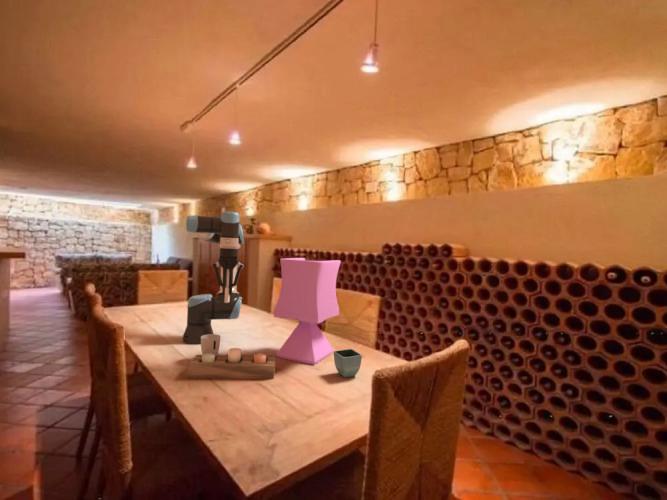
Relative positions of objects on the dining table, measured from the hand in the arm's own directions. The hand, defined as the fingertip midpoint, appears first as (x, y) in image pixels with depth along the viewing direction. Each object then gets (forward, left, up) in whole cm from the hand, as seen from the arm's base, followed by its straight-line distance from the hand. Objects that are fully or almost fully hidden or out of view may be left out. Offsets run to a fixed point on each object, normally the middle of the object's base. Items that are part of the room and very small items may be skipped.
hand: (226, 302), depth 146 cm
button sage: (+13, -4, -23) cm, 27 cm away
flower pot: (+15, +51, -26) cm, 60 cm away
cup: (-2, -7, -26) cm, 27 cm away
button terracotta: (+13, +16, -23) cm, 31 cm away
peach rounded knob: (+13, +6, -22) cm, 26 cm away
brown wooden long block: (+13, +6, -26) cm, 30 cm away
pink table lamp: (-9, +35, -26) cm, 45 cm away
